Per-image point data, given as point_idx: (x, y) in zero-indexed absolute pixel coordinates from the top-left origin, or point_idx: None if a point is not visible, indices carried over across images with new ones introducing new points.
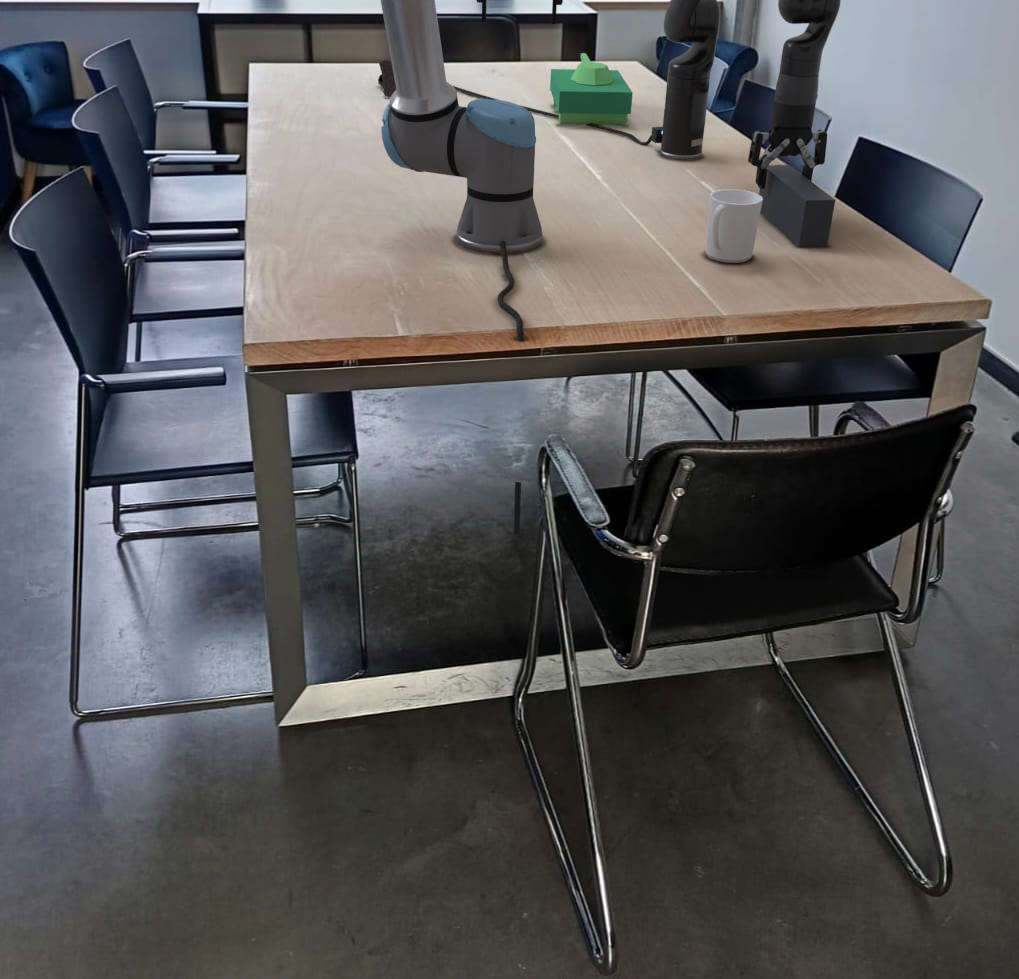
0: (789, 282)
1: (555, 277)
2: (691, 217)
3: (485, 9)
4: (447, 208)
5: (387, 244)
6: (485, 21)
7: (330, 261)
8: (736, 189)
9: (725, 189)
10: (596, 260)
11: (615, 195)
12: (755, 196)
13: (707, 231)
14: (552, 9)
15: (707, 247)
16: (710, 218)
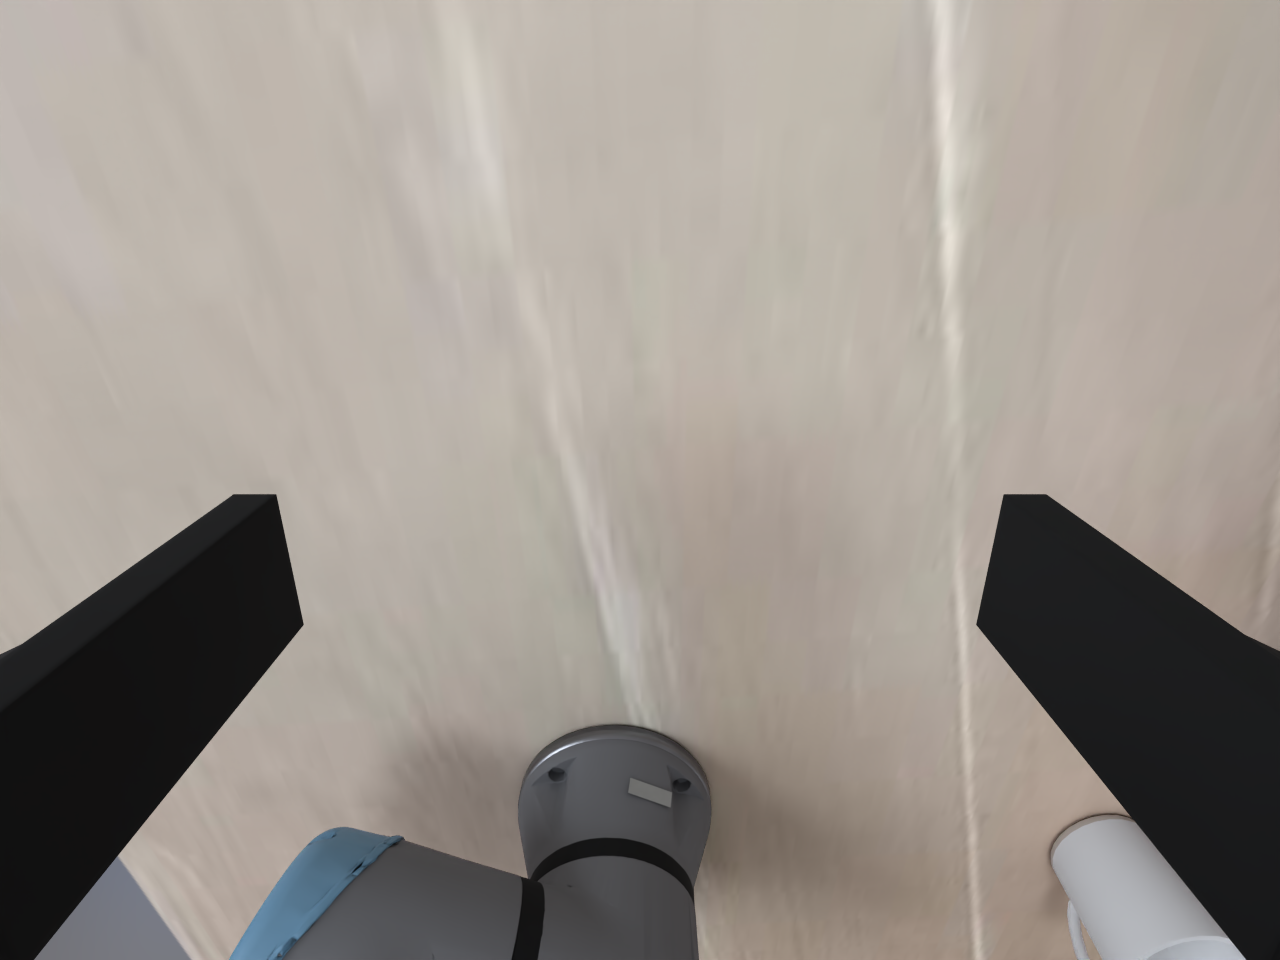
0: None
1: (725, 942)
2: None
3: (236, 704)
4: (463, 605)
5: (380, 827)
6: (299, 628)
7: None
8: (1218, 937)
9: (1189, 938)
10: (814, 875)
11: (959, 455)
12: (1244, 958)
13: (1076, 896)
14: (1056, 699)
15: (1058, 873)
16: (1094, 940)
